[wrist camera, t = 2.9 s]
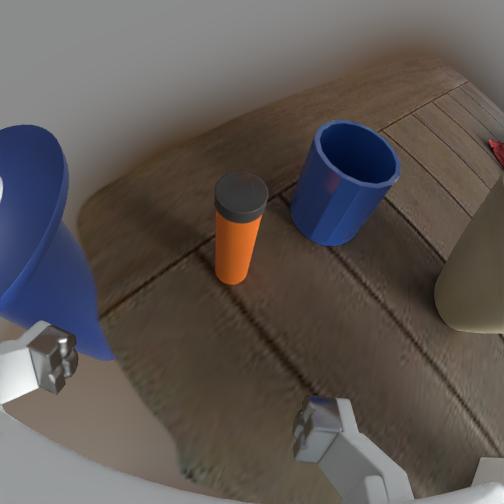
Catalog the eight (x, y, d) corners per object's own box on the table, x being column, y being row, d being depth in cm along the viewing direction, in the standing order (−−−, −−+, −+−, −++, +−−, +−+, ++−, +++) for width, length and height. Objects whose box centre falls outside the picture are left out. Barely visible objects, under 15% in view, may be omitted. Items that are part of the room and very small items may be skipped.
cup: (292, 244, 31) (322, 181, 22) (287, 181, 34) (309, 114, 26) (364, 248, 32) (411, 193, 23) (352, 188, 35) (386, 128, 26)
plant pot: (503, 343, 28) (597, 300, 14) (424, 377, 26) (550, 339, 12) (472, 240, 35) (547, 172, 20) (392, 246, 32) (477, 152, 18)
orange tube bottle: (213, 285, 28) (213, 211, 17) (214, 253, 30) (216, 169, 19) (248, 286, 28) (269, 214, 18) (248, 255, 30) (267, 172, 19)
